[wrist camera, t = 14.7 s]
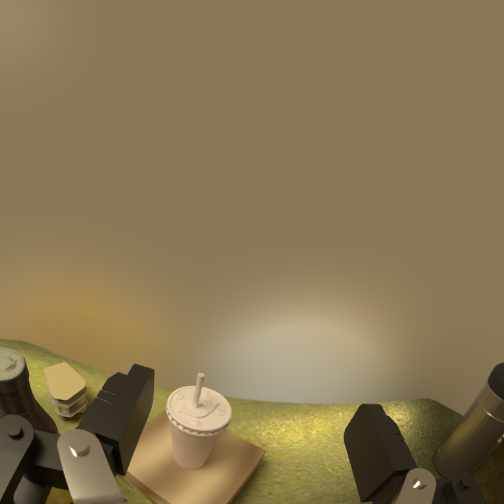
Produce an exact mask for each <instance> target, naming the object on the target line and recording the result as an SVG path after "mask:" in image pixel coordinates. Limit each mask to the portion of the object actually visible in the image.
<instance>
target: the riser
mask: <svg viewBox="0 0 504 504" xmlns="http://www.w3.org/2000/svg"><path fill="white" fill-rule="evenodd" d="M265 453H266V451H265V450H263V449H261V448H259V447H257V446H255V445H253V444H251V443H249V442H247V441H245V440H243V439H241V438H239V437H238V436H236V435H234V434H232V433H230V432H228V431H227V430H224V431H223V432H221V434H220V436H219V438H218V440H217V441H216V443H215V445H214V447H213V449H212V450H211V452H210V454H209V456H208V458H207V459H206V461H205V463H204V464H203V466H201V467H200V468H198V469H186V468H183V467H181V466H180V465H178V464H177V463H176V461H175V459H174V453H173V445H172V435H171V425H170V420H169V418H168V415H167V413H166V410H165V411H164V412H162V413H161V414H160V415H158V416H157V417H155V418H154V419H152V420H151V421H149V422H148V423H147V424H145V426H144V428H143V431H142V433H141V436H140V439H139V441H138V444H137V446H136V449H135V451H134V454H133V457H132V459H131V462H130V465H129V467H128V470H127V473H126V475H125V477H124V476H121V475H118V474H117V475H118V476H119V477H121V478H122V479H123V480H124V481H125V482H126V483H128V484H129V485H130V486H131V487H133V488H134V489H135V490H136V491H138V492H139V493H140V494H141V495H143V496H144V497H145V498H147V499H148V500H149V501H151V502H152V503H153V504H230V503H231V501H232V500H233V499H234V498H235V496H236V495H237V494H238V493H239V491H240V490H241V489H242V487H243V486H244V485H245V483H246V482H247V481H248V479H249V478H250V477H251V475H252V474H253V473H254V471H255V470H256V469H257V467H258V466H259V464H260V462H261V460H262V458H263V456H264V454H265Z"/></svg>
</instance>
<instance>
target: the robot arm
mask: <svg viewBox="0 0 504 504" xmlns="http://www.w3.org/2000/svg"><path fill="white" fill-rule="evenodd" d="M153 393H154V369H151V368H148V367H144V366H141V365H138V364H134V365H133V366H132V368H131V370H130V372H129V373H128V375H125V374H122V373H119V372H118V373H116V374H115V375H113V376H111V377H110V378H108V379H107V381H106V382H105V384H104V385H103V387H102V390H100V392H99V393H98V395H97V398H95V400H94V401H93V403H92V404H91V406H90V407H89V409H88V411H87V412H86V414H85V415H84V417H83V419H82V420H81V422H80V424H79V425H78V426H77V428H75V429H72V430H68V431H66V432H64V433H63V434H52V433H47V432H43V431H38V430H34V429H33V427H32V425H31V424H30V422H29V421H28V420H27V419H25V418H24V417H21V416H19V415H7V416H4V417H2V418H1V419H0V504H45V503H46V501H47V498H48V496H49V494H50V491H51V489H52V487H54V488H58V489H63V490H68V491H70V493H71V496H72V499H73V502H74V504H128V503H127V501H126V500H125V499H124V497H123V495H122V493H121V491H120V489H119V487H118V485H117V483H116V480H115V476H116V474H118V475H121V476H124V477H125V475H126V473H127V470H128V467H129V465H130V462H131V459H132V457H133V454H134V451H135V449H136V446H137V444H138V441H139V439H140V436H141V433H142V431H143V428H144V426H145V423H146V421H147V418H148V416H149V413H150V411H151V407H152V403H153ZM503 434H504V363H500V364H498V365H497V366H496V367H495V368H494V369H493V371H492V372H491V374H490V376H489V378H488V379H487V381H486V383H485V384H484V386H483V388H482V389H481V391H480V392H479V394H478V396H477V397H476V399H475V400H474V402H473V403H472V405H471V406H470V408H469V409H468V410H467V412H466V413H465V415H464V416H463V417H462V419H461V420H460V422H459V423H458V424H457V426H456V427H455V428H454V430H453V431H452V432H451V433H450V435H449V436H448V437H447V438H446V440H445V441H444V442H443V443H442V444H441V445H440V447H439V448H438V449H437V450H436V452H435V453H434V456H433V463H434V466H435V468H436V469H437V471H438V472H439V473H440V474H441V475H442V476H444V477H446V478H447V479H450V480H443V479H435V478H434V476H433V475H432V474H431V473H430V472H429V471H427V470H425V469H422V468H417V466H416V463H415V461H414V459H413V457H412V455H411V453H410V451H409V448H408V446H407V444H406V442H404V438H403V436H402V435H401V432H400V430H399V428H398V426H397V424H396V423H395V422H394V421H393V420H392V419H391V418H390V417H389V416H386V414H385V412H384V410H383V408H382V406H381V405H380V404H362V405H360V407H359V408H358V410H357V411H356V413H355V415H354V416H353V418H352V419H351V421H350V422H349V424H348V426H347V427H346V429H345V432H344V443H345V446H346V450H347V453H348V457H349V460H350V464H351V467H352V471H353V475H354V478H355V482H356V485H357V489H358V493H359V497H360V500H361V503H362V502H369V501H372V502H373V504H486V502H485V500H484V498H483V495H482V493H481V491H480V489H479V487H478V485H477V483H476V481H475V479H474V478H473V476H472V474H473V473H474V472H475V471H476V470H477V469H478V468H479V467H480V465H481V464H482V463H483V462H484V461H485V460H486V459H487V458H488V457H489V456H490V454H491V453H492V452H493V451H494V450H495V449H496V448H497V446H498V445H499V444H500V443H501V441H502V439H501V436H502V435H503Z"/></svg>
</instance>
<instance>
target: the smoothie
mask: <svg viewBox="0 0 504 504" xmlns="http://www.w3.org/2000/svg"><path fill="white" fill-rule="evenodd" d="M203 380H204V374H203V373H199V374H198V378H197V383H196V386H186V387H182V388H179V389H177V390H175V391H174V392H173V393H172V394H171V395H170V396H169V398H168V401H167V406H166V413H167V415H168V418H169V420H170V425H171V435H172V445H173V453H174V459H175V461H176V463H177V464H178V465H180V466H181V467H183V468H186V469H198V468H200V467H201V466H203V464H204V463H205V461H206V459H207V458H208V456H209V454H210V452H211V450H212V449H213V447H214V445H215V443H216V441H217V440H218V438H219V436H220V434H221V432H223V431H224V430H225V429H226V428H227V427H228V426H229V424H230V421H231V416H232V409H231V406H230V404H229V402H228V401H227V400H226V399H225V398H224V397H223V396H222V395H221V394H219V393H218V392H216V391H214V390H211V389H209V388H205V387H202V385H203Z"/></svg>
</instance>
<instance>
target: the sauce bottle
mask: <svg viewBox="0 0 504 504" xmlns="http://www.w3.org/2000/svg"><path fill="white" fill-rule="evenodd" d="M7 415H19V416H21V417H24V418H25V419H27V420H28V421H29V422H30V424H31V425H32V427H33V429H34V430H38V431H43V432H47V433H52V434H59V432H58V429H57V427H56V424H55V422H54V421H53V419H52V418H51V417H50V416H49V415H48V414H47V413H46V412H45V411H44V409H43V408H42V407H41V406H40V405H39V403H38V402H37V401H36V400H35V398H34V395H33V393H32V390H31V387H30V383H29V372H28V369H27V365H26V362H25V359H24V357H23V356H22V355H21V354H20V353H19V352H17V351H15V350H13V349H8V348H0V419H1V418H2V417H4V416H7ZM46 504H74V502H73V499H72V496H71V493H70V491H68V490H63V489H58V488H54V487H52V489H51V491H50V494H49V496H48V498H47V501H46Z"/></svg>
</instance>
